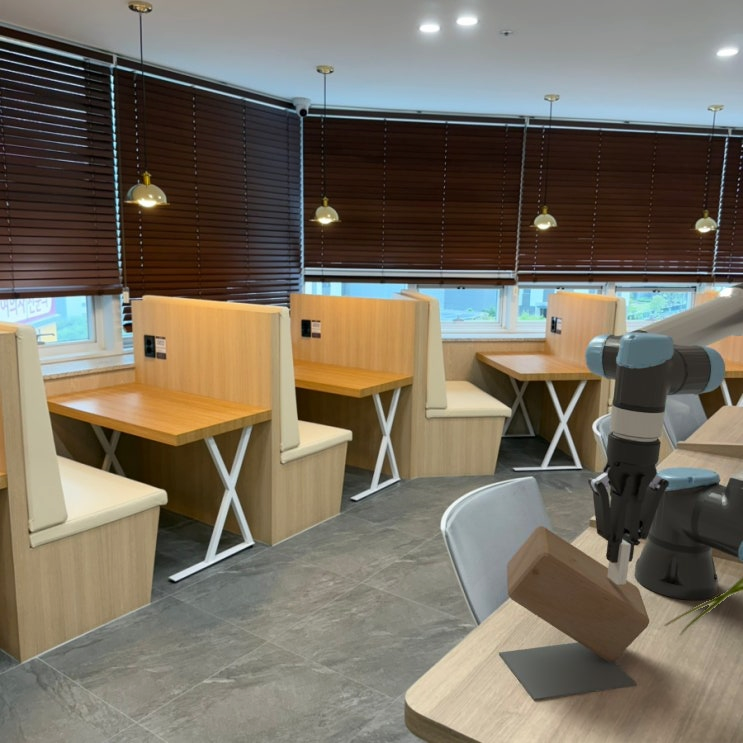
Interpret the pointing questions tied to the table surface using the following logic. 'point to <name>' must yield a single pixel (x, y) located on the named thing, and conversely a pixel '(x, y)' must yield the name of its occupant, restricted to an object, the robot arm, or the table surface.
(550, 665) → the mat
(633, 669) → the table surface
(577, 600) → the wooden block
